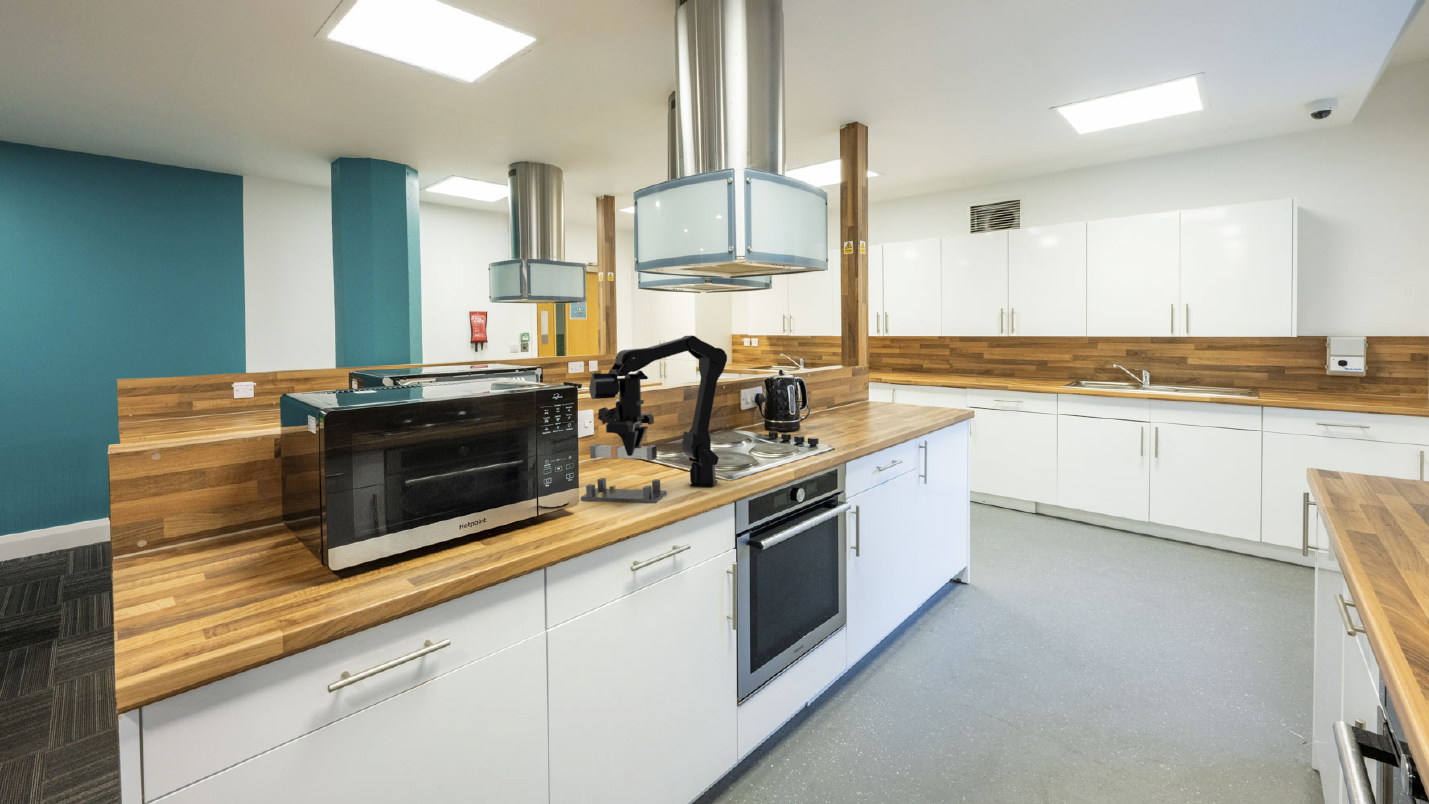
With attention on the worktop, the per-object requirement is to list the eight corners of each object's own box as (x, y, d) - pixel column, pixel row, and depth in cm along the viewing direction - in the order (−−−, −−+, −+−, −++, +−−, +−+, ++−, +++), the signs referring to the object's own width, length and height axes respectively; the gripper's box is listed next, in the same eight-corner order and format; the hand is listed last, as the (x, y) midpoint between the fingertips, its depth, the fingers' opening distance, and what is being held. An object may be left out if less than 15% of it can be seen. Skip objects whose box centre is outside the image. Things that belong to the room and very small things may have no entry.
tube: (656, 457, 161) (656, 445, 161) (652, 460, 158) (651, 447, 158) (596, 456, 166) (595, 443, 166) (590, 458, 163) (589, 446, 162)
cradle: (666, 494, 163) (665, 479, 163) (655, 503, 154) (654, 488, 154) (595, 491, 168) (594, 477, 168) (581, 500, 159) (580, 485, 159)
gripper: (617, 393, 171) (619, 447, 172) (586, 400, 153) (588, 460, 154) (653, 393, 168) (655, 448, 169) (626, 400, 150) (628, 462, 151)
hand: (632, 454), depth 161 cm, fingers closed on tube, 3 cm apart
